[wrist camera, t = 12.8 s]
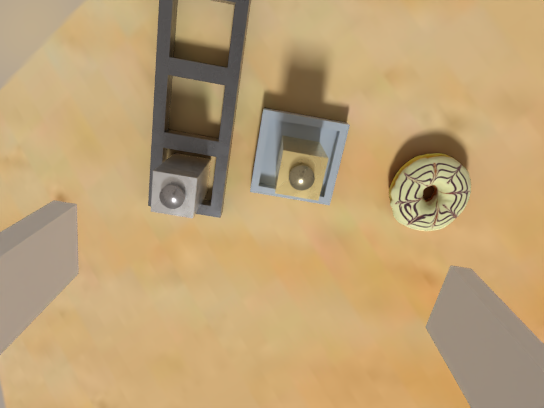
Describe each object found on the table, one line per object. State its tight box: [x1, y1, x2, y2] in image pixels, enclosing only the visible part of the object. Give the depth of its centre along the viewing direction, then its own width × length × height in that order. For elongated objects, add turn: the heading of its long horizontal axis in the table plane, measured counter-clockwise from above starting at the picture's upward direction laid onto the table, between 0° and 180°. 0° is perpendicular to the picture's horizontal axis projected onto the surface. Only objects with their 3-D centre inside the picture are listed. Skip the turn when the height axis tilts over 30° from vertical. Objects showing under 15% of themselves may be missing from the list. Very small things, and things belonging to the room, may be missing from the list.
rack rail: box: [148, 0, 251, 218], centre depth 46 cm, size 28×10×2 cm, turn 170°
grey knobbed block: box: [151, 153, 211, 218], centre depth 45 cm, size 5×5×10 cm
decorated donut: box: [389, 153, 471, 231], centre depth 48 cm, size 10×11×4 cm
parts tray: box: [250, 108, 350, 205], centre depth 48 cm, size 11×11×2 cm
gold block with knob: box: [275, 135, 329, 201], centre depth 43 cm, size 5×5×10 cm
